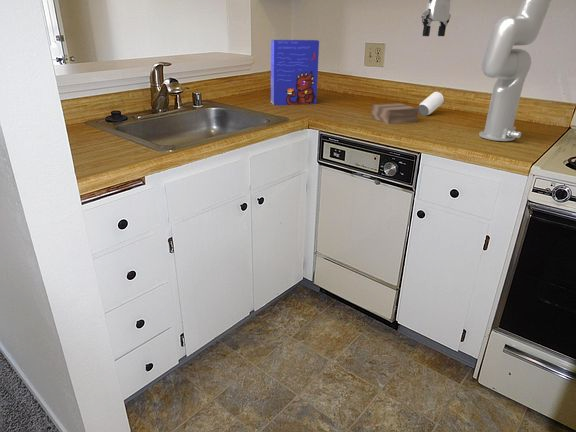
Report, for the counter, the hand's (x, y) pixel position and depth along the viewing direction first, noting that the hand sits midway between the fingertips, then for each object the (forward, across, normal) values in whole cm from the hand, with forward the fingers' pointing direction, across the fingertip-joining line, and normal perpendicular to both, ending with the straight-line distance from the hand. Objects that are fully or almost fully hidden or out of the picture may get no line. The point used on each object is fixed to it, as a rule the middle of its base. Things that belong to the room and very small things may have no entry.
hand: (433, 36), depth 187 cm
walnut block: (+34, -21, -2) cm, 40 cm away
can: (+26, +8, -1) cm, 27 cm away
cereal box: (+34, -40, +47) cm, 70 cm away
